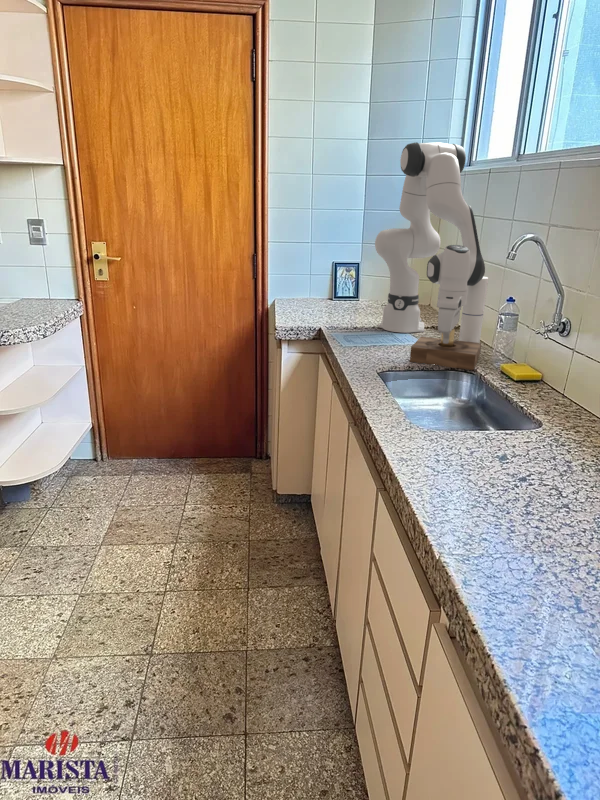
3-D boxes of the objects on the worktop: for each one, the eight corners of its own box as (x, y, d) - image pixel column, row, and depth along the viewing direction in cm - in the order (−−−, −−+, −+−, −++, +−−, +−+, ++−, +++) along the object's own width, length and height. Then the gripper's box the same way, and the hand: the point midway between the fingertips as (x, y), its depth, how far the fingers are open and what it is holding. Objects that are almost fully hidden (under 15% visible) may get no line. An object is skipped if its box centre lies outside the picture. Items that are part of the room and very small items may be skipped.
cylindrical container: (456, 349, 194) (465, 277, 186) (459, 345, 201) (467, 275, 192) (477, 352, 192) (487, 279, 183) (479, 347, 198) (489, 276, 190)
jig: (419, 350, 192) (421, 336, 191) (479, 357, 185) (481, 343, 183) (409, 361, 178) (411, 346, 177) (473, 370, 171) (475, 354, 169)
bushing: (440, 350, 183) (443, 327, 181) (453, 352, 182) (455, 328, 179) (438, 353, 180) (441, 329, 177) (451, 355, 178) (454, 330, 176)
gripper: (447, 293, 185) (442, 333, 190) (436, 302, 167) (431, 347, 172) (466, 294, 183) (461, 335, 187) (457, 304, 165) (452, 349, 170)
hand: (447, 341), depth 179 cm, fingers closed on bushing, 4 cm apart
